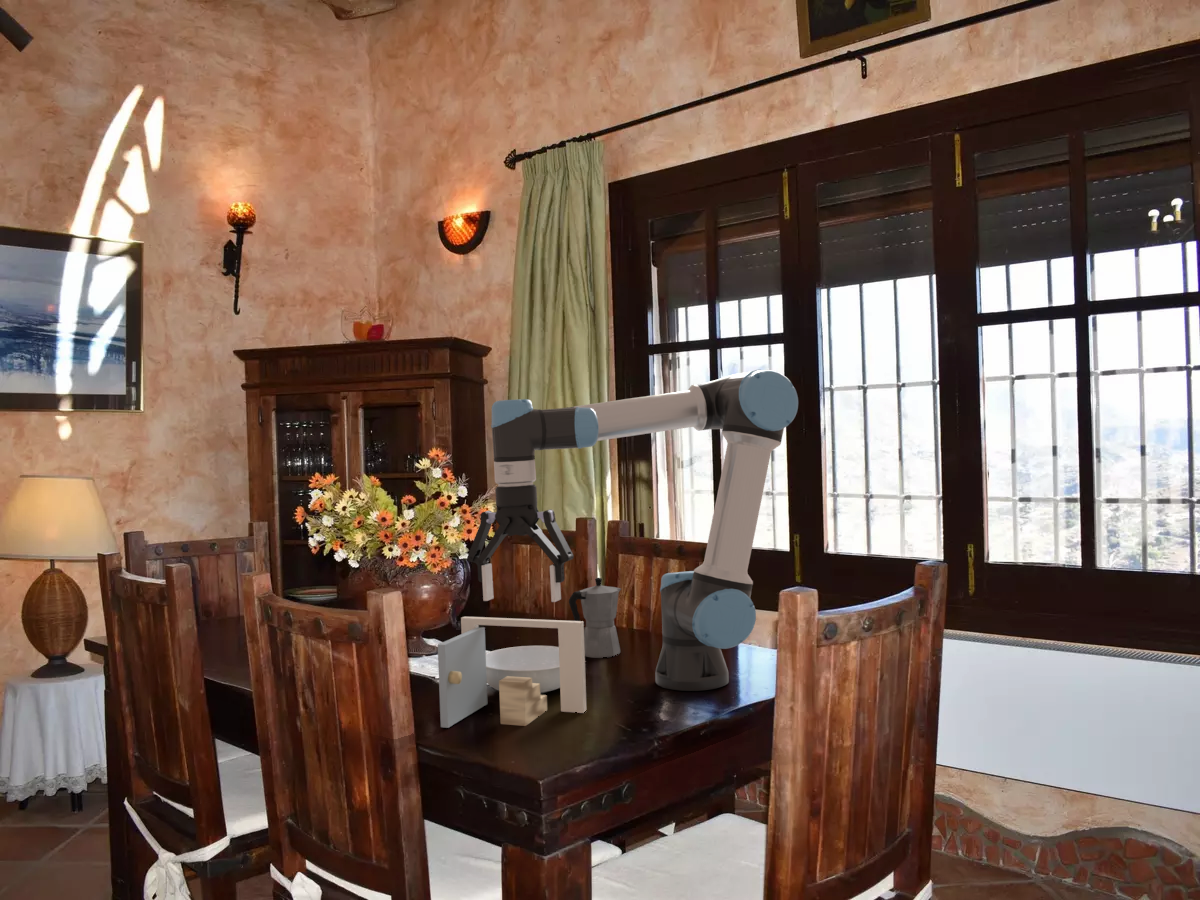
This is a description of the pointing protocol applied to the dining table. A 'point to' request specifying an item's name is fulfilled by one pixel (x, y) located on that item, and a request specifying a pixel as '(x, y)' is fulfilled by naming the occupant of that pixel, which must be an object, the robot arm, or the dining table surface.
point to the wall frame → (568, 654)
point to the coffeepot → (598, 619)
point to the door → (462, 676)
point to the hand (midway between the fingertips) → (522, 600)
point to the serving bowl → (525, 665)
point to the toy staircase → (520, 700)
